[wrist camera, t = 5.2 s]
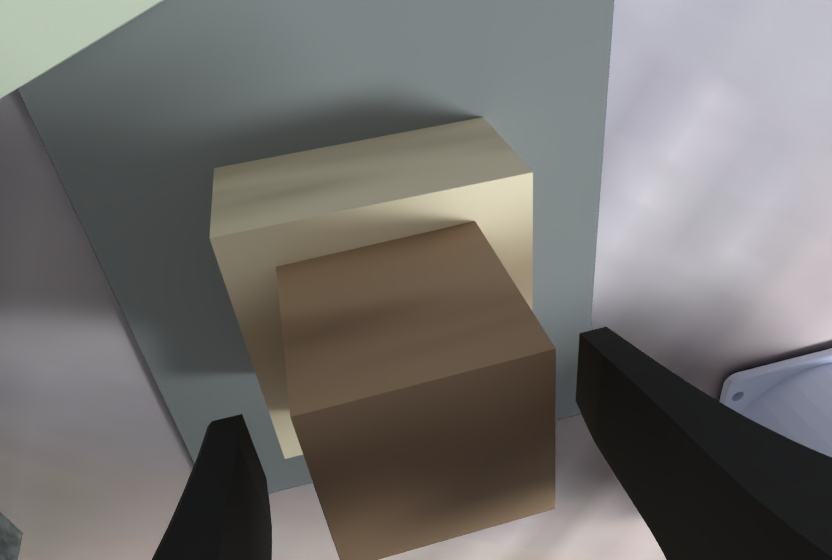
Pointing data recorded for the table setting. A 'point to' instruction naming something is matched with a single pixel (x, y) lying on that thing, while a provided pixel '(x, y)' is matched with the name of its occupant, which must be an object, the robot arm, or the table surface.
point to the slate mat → (305, 130)
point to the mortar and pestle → (9, 539)
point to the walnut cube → (418, 391)
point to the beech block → (359, 220)
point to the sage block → (54, 33)
